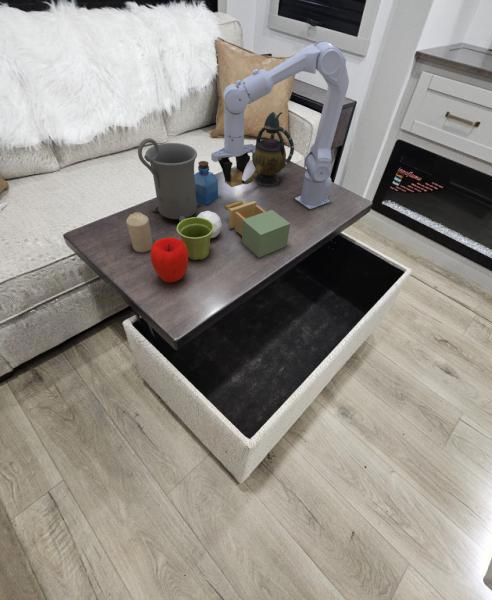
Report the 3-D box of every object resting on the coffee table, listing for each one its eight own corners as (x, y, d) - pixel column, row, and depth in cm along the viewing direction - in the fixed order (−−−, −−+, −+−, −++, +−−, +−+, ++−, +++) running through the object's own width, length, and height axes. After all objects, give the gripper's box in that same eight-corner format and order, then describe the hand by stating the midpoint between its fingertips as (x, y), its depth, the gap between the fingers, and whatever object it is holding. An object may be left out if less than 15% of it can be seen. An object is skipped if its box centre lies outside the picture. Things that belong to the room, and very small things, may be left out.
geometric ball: (211, 247, 99) (209, 239, 91) (190, 230, 99) (186, 221, 91) (227, 227, 100) (227, 218, 92) (206, 211, 100) (204, 200, 92)
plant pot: (200, 269, 88) (198, 242, 82) (172, 255, 91) (168, 229, 85) (221, 251, 94) (220, 225, 87) (194, 239, 97) (192, 213, 91)
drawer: (220, 219, 103) (220, 201, 99) (244, 211, 107) (245, 193, 103) (242, 239, 97) (243, 220, 93) (267, 229, 101) (269, 211, 97)
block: (235, 179, 109) (235, 167, 106) (242, 184, 107) (242, 172, 104) (224, 182, 107) (224, 169, 104) (231, 187, 105) (231, 175, 102)
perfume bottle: (218, 197, 114) (217, 162, 105) (206, 204, 110) (205, 169, 101) (203, 191, 116) (201, 157, 107) (192, 198, 112) (189, 163, 103)
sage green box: (241, 242, 97) (242, 219, 92) (269, 232, 102) (271, 209, 96) (258, 258, 93) (260, 234, 87) (286, 246, 97) (290, 223, 92)
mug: (182, 196, 113) (174, 116, 95) (214, 213, 107) (212, 131, 89) (136, 219, 102) (117, 133, 84) (169, 239, 96) (155, 151, 78)
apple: (174, 295, 81) (168, 260, 73) (147, 280, 84) (139, 246, 76) (197, 275, 86) (194, 241, 79) (171, 262, 89) (166, 228, 81)
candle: (148, 254, 91) (141, 222, 84) (129, 250, 91) (121, 219, 84) (156, 242, 95) (150, 211, 88) (138, 239, 95) (131, 207, 88)
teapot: (292, 176, 128) (302, 109, 111) (255, 202, 113) (260, 129, 96) (266, 167, 132) (272, 101, 115) (227, 190, 117) (227, 119, 101)
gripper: (246, 125, 102) (245, 168, 111) (205, 133, 95) (207, 178, 105) (260, 133, 98) (257, 177, 108) (218, 142, 91) (219, 188, 101)
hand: (233, 179), depth 106 cm, fingers closed on block, 4 cm apart
